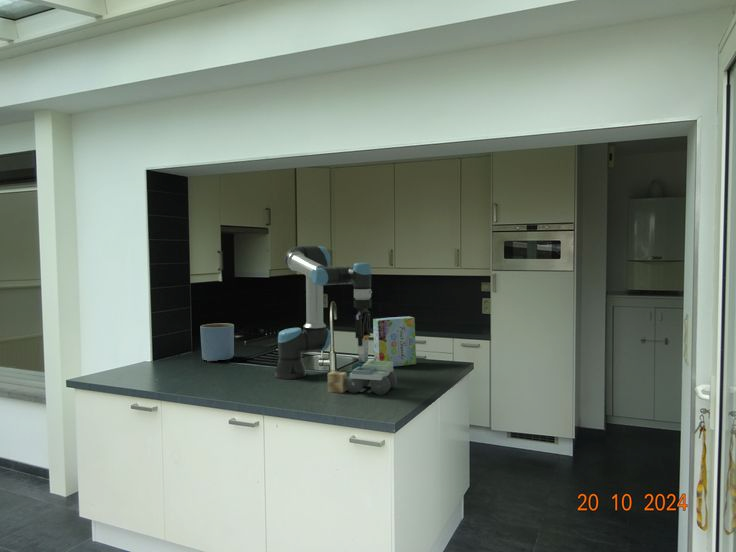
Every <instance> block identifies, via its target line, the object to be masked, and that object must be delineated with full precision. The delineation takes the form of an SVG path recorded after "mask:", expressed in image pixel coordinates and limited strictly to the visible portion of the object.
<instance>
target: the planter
mask: <svg viewBox="0 0 736 552" xmlns="http://www.w3.org/2000/svg"><path fill="white" fill-rule="evenodd" d="M199 328H200V329H199V330H200V346H201V359H202V360H203V361H204V360H207V362H217V361H218V360H225V359H229V360H231V359H233V358H234V357H233V356H234V355H235V353H234V351H235V349H234V348H235V343H234V342H235V324H233V323H228V322H226V323H225V322H224V323H207V324H202V325H200V327H199ZM218 362H219V361H218Z"/></svg>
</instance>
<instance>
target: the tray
mask: <svg viewBox="0 0 736 552" xmlns="http://www.w3.org/2000/svg"><path fill="white" fill-rule="evenodd" d="M363 367H374V368H376V371H385V372H387V371H388V370H390V369H391V368H392V367H393V361H375V360H368V361H366V363H365V364H363ZM393 368H394V367H393Z"/></svg>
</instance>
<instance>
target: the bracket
mask: <svg viewBox="0 0 736 552" xmlns="http://www.w3.org/2000/svg"><path fill="white" fill-rule="evenodd" d="M366 362H367V361H359V362H358V363H355V364H353V365H352V366H351V367H352V368H351V370H346V369H345V370H343V369H342V370H336V371H334V372H346V375H347V377H348V376H349V375H350V373H352V370H353V369H355V368H357V367H362V366H363V364H365V363H366Z"/></svg>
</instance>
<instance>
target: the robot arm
mask: <svg viewBox="0 0 736 552" xmlns="http://www.w3.org/2000/svg"><path fill="white" fill-rule="evenodd" d="M283 260H284V261H283V262H284V264H285V266H286V268H288V269H289V270H291V271H293V272H299V273H301V274H302V275H305V291H306V293H305V297H306V298H305V299H306V300H305V302H306V303H305V304H306V309H305V310H306V311H305V313H306V314H305V316H306V319H305V320H306V322H305V324H304V325H303V330H302V328H300V327H291V328H285V329H283V330H281V331H279V332H278V335H277V345H278V346H277V347H278V348H277V349H278V354H277V355H278V362H277V366H276V369H275V373H274V375H275V377H276V378H278V379H281V380H283V379H284V380H289V379H290V380H291V379H301V378H304V377H306V376H307V371H306V367H305V364H304V362H303V361H304V360H303V354H309V353H320V352H323V351H324V352H325V351H327V350H328V348H329V347H330V344H331V340H332V338H331V337H332V336H331V331H330V329H328V328H327V325H326V324H325V322H324V286H332V285H335V286H336V285H353V308H354V309H357V312H356V314H355V315H354V320H355V322H354V324H355V327H354V328H355V330H354V332H355V339H357V354H359V353H362V354H364V338H363V334H365V335H369V337H371V311H369V310H368V309H371V308H372V299H371V298H372V294H373V291H372V266H371V264H370V263H369V262H356V263H355V262H354V264H353V266H344V267H343V266H341V267H330V265H331V255H330V252H329V251H328V249H327V247H324V246H322V245H320V246H319V245H310V246H309V245H308V246H307V245H306V246H305V245H304V246H303V245H297V246H292V247H291V248H289V249H288V250H287V251H286V252H285V255H284V257H283Z"/></svg>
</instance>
